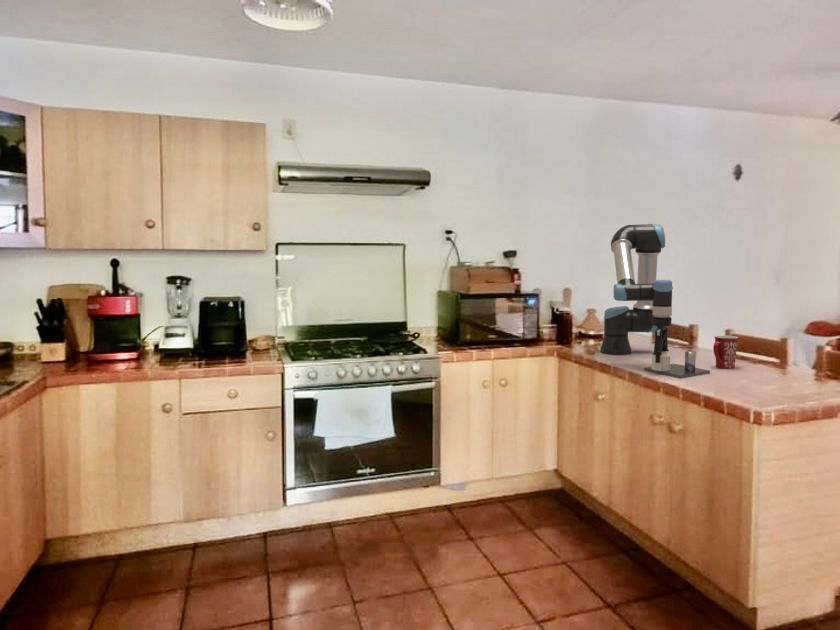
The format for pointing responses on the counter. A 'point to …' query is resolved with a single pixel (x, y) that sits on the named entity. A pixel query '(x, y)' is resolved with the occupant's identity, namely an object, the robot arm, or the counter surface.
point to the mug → (725, 351)
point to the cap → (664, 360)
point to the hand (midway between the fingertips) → (660, 368)
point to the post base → (682, 368)
